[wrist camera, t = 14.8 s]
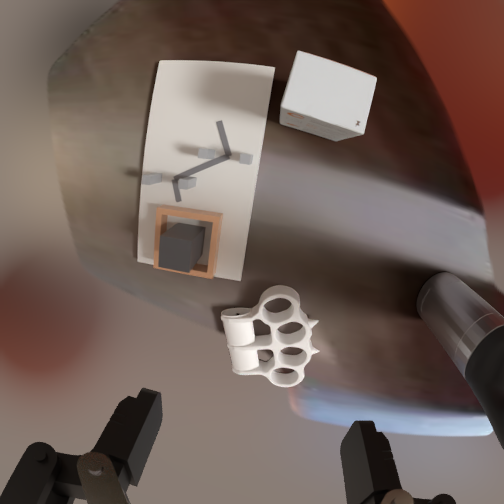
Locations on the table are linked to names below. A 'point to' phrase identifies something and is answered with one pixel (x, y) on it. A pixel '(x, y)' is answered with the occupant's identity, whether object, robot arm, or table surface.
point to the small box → (326, 98)
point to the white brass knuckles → (269, 338)
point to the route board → (205, 152)
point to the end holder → (196, 214)
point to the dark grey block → (181, 247)
